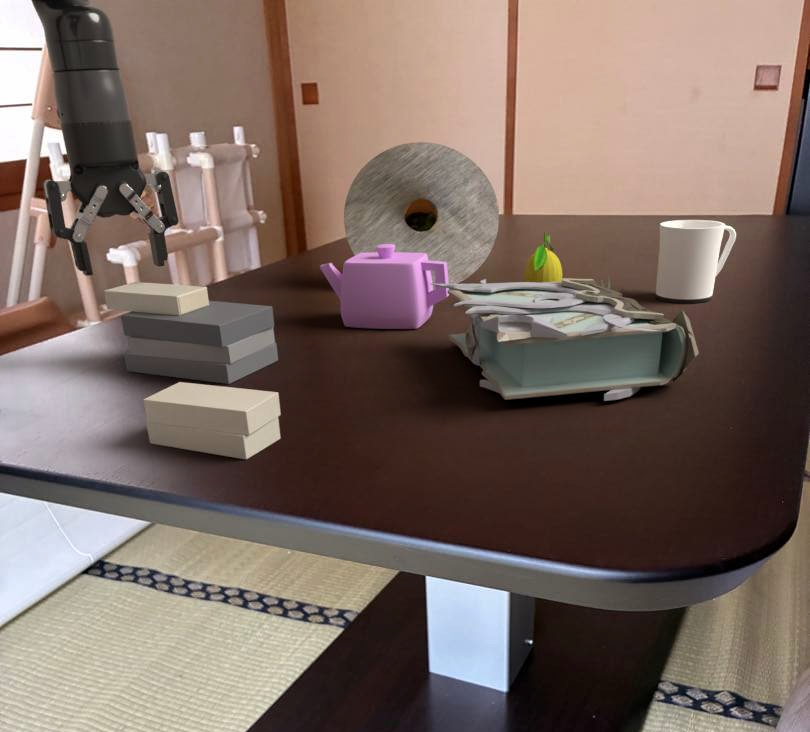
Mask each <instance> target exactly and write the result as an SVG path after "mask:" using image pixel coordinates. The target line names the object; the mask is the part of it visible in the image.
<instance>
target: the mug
mask: <svg viewBox="0 0 810 732" xmlns="http://www.w3.org/2000/svg"><path fill="white" fill-rule="evenodd" d="M725 231H728V233H729V238H728V240H727V242H726V243H725V246H724V248H723V251H722V253H721V255H720V251H721V246H722V241H723V237H724V232H725ZM736 239H737V232H736V230H735V229H734V228H733V227H732V226H730V225H726V223H724V222H721V221H717V220H707V219H706V220H705V219H677V220H667V221H663V222H660V223H659V249H658V261H657V274H656V285H655V286H656V287H655V297H656V299H658V300H659V301H662V302H667V303H672V304H673V303H674V304H701V303H706V302H709V301H711V300H712V298H713V294H714V288H715V282H716V277H718V275H719V274H720V273H721V271H722V269H723V268H724V265H725V263H726V261H727V259H728V257H729V255H730V253H731V251H732V249H733V248H732V247H733V246H734V243H735V242H736Z"/></svg>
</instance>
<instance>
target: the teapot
mask: <svg viewBox="0 0 810 732" xmlns="http://www.w3.org/2000/svg"><path fill="white" fill-rule="evenodd" d="M376 250H377V252H367V253H360V254H358V255H356V256H355V255H354V256H351V257H349V258H348V259H347V260H346V261H344V262H343V266H342V272H340V271H339V270H338V269H337V268H336V266H334V264H333V263H332V262H327V263H323V264H321V265H319V269H320V270H321V272H322V274H323V275H324V277H325V279H326V280H327V281H328V283H329V285H330V286H331V288H332V290H333V291H334V293H335V294H336V296H337V298H338V299H339V302H340V317H341V319H342V322H343V325H344V327H346V328H354V329H355V328H356V329H372V330H373V329H374V330H376V329H377V330H414V329H419V328H420V327H422V326H423V325H424V324H425V323H426V322H427V321H428V320H429V319H430V318H431V316H432V313H433V309H434V305H435V304H438V303H439V302H441V301H443V300H444V299H447V298H448V297H449V296H450V295H449V294H448V290H450V289H449V288H444V287H439V286H435V289H434V290H433V285H431V284H432V277H431V271H430V270H435V284H449V281H448V270H447V262H443V261H429V260H428V257H427V254H426V253H407V252H394V250H395V245H393V244H381V245H377V246H376Z"/></svg>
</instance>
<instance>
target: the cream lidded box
mask: <svg viewBox="0 0 810 732" xmlns="http://www.w3.org/2000/svg"><path fill="white" fill-rule="evenodd" d="M142 401H143V405H144V412H145V416H146V421H145V424H146V429H147V435H148V440H149V444H152V445H157V446H164V447H170V448H174V449H175V448H176V449H181V450H188V451H193V452H198V453H199V452H200V453H205V454H212V455H217V456H223V457H229V458H230V457H231V458H235V459H240V460H248V459H250V458H251V457H253V456H255V455H256V454H258V453H260V452H261V451H263V450H264V449H266V448H268V447H270V446H271V445H273V444H274V443H276V442H277V441H279V440H281V438H282V437H281V428H280V419H279V417H280V416H281V415H282V414H281V413H282V412H281V404H280V403H281V402H280V395H279V392H277V391H268V390H259V389H249V388H241V387H230V386H223V385H221V386H220V385H211V384H203V383H202V384H201V383H193V382H185V381H183V382H182V381H178V382H176V383H175V384H173V385H170V386H169V387H167V388H164V389H162V390H160V391H158V392H155V393H154V394H151V395H150V396H148V397H145V398H143V400H142Z"/></svg>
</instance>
